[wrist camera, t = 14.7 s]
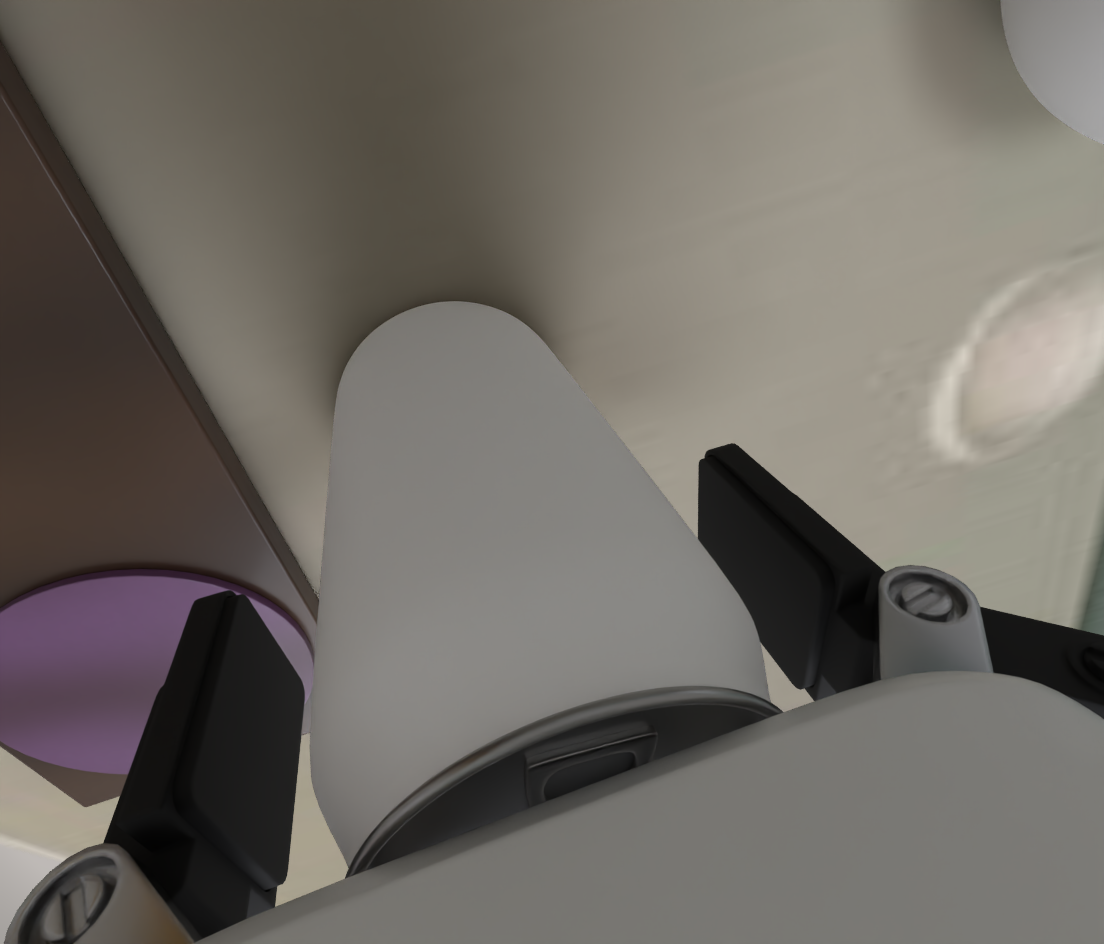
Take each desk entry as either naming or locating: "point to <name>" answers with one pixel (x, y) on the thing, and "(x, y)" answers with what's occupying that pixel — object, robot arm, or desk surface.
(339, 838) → the can
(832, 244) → the desk surface
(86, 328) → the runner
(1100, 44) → the ornament
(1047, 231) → the desk surface
